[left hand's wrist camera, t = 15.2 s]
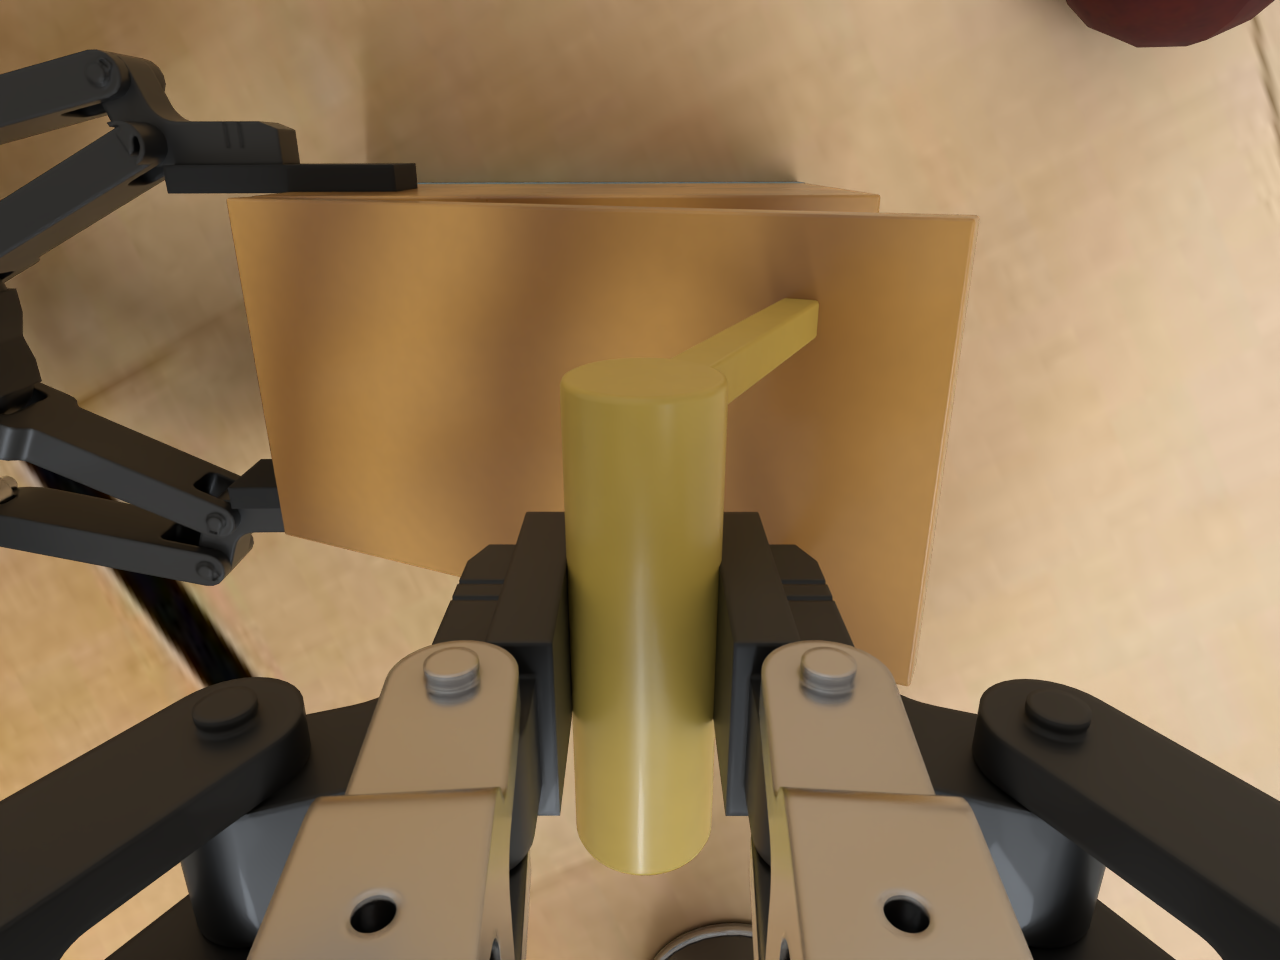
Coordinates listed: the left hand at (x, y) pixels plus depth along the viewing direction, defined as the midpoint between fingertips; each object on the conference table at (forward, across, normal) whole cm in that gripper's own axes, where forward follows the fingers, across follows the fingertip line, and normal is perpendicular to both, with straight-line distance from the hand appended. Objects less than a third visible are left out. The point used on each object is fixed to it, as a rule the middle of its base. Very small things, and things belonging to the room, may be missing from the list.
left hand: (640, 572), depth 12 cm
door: (+8, +2, 0) cm, 8 cm away
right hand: (+16, +7, 0) cm, 17 cm away
